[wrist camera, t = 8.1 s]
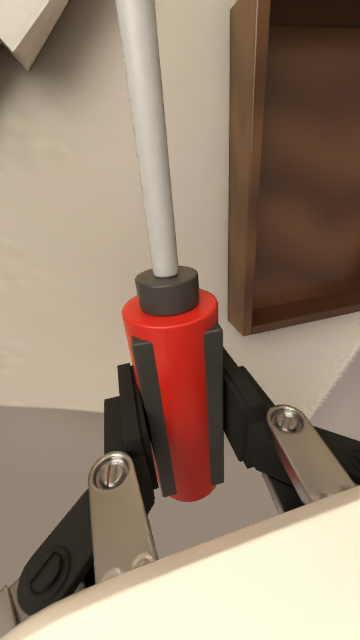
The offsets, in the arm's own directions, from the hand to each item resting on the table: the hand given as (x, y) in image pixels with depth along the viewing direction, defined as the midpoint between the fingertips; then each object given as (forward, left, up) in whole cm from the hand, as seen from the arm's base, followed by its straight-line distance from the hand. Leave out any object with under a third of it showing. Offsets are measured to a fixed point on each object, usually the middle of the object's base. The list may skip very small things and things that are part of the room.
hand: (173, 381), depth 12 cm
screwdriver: (-4, 0, 0) cm, 4 cm away
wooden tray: (-6, +16, -11) cm, 20 cm away
